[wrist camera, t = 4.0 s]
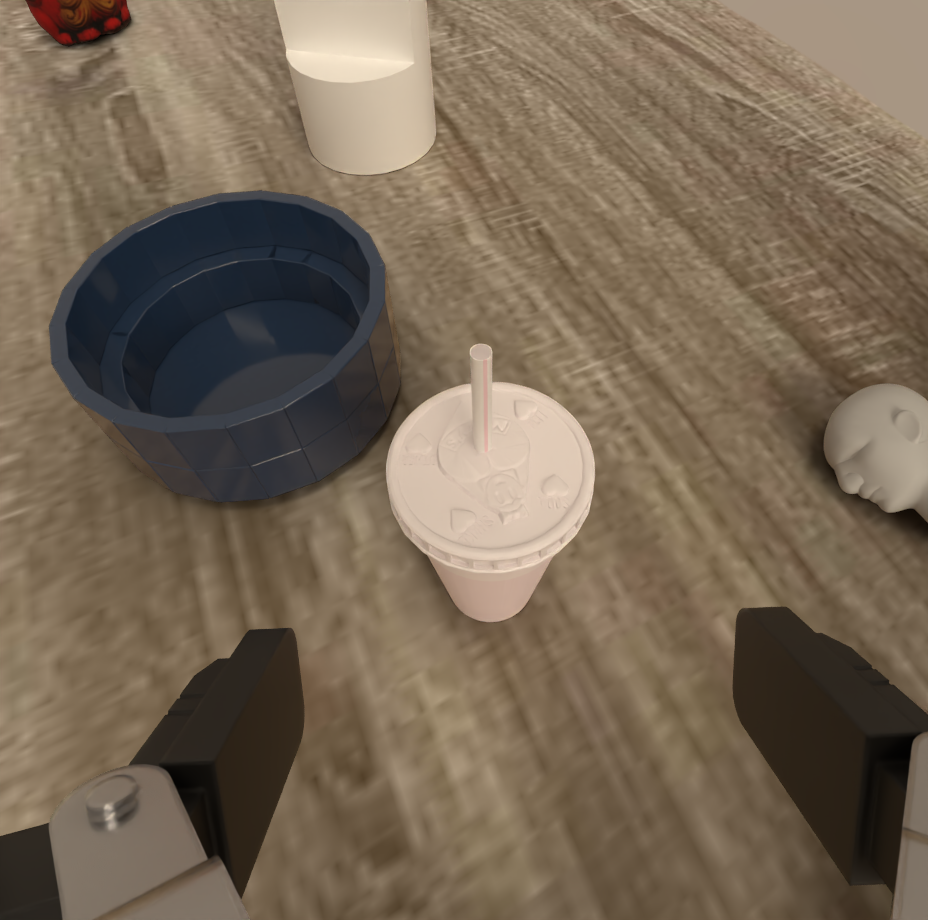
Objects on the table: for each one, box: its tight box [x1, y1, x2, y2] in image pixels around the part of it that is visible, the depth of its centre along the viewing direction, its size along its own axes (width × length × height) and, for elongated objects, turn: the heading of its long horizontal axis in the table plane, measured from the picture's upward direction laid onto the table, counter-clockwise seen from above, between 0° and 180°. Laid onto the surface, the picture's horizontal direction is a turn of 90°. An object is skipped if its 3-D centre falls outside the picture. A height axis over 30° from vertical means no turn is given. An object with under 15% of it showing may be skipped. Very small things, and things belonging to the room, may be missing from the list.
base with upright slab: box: [274, 0, 436, 175], centre depth 40 cm, size 9×9×12 cm
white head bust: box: [824, 384, 928, 523], centre depth 27 cm, size 4×8×5 cm
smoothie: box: [386, 344, 595, 622], centre depth 21 cm, size 6×6×14 cm
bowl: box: [49, 190, 401, 502], centre depth 31 cm, size 14×14×6 cm
